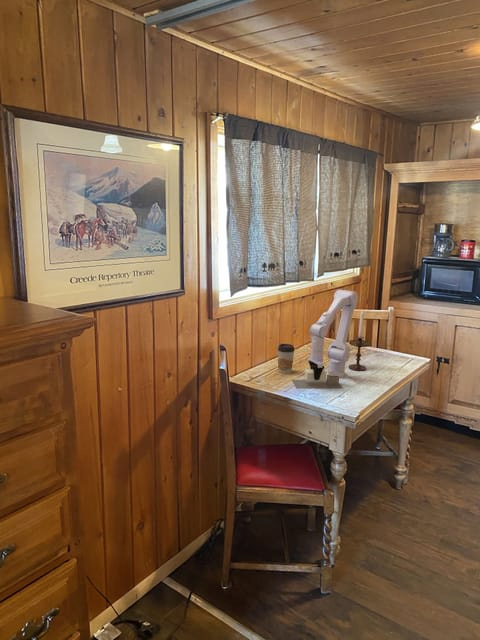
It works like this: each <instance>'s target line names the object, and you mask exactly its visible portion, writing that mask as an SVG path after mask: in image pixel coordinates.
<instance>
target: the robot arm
mask: <svg viewBox="0 0 480 640" xmlns="http://www.w3.org/2000/svg"><path fill="white" fill-rule="evenodd" d="M358 300H359V295H358V293H357V292H356V291H353V290H345V289H340V288H338V289H337V290H336V291H335V292H334V294H333V301H332V303H331V304H330V306H329V308H328V309H327V311H325V312H323V313H322V314H321V316H320V317H319V319H318V320H317V321H316V323H314V324H312V325H311V326H310V328H309V332H308V333H309V336H310V340H311V342H310V343H311V347H310V357H308V358H307V360H308V364H309V366H310V368H309V369H313V371H314V379H315V380H319V379H320V376H321V373H322V371H323V369H324V370H325V365H323V363H324V351H325V350H324V349H325V348H324V347H325V346H324V345H325V337H326V336H328V331H329V328H330V326H331V324H332V323H333V321H334V320H335V317H334V316H335V315H336V314H337V313H338V311H340V309H342V312H341V317H340V321H339V325H338V330H337V333H336V337H335V340H334V341H332V342H331V343H330V344H329V348H327V349H328V350H327V351H326V355H327V356H326V357H327V358H328V361H329V362H328V365H327V366H328V368H327V374H329V371H343V372H344V373H345V371H346V363H347V362H348V361H349V359H350V356H351V355H350V353H351V352H350V351H351V347H350V346H349V345H348V343H347V342H348V336H349V331H350V328H351V323H352V319H353V315H354V311H355V310H356V308H357V305H358ZM344 377H345V375H344V376H339V379H342V378H344Z"/></svg>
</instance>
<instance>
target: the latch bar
mask: <svg viewBox="0 0 480 640" xmlns="http://www.w3.org/2000/svg"><path fill="white" fill-rule="evenodd" d="M328 375H329V376H344V377H345V372H343V371H329V373H328Z"/></svg>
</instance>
